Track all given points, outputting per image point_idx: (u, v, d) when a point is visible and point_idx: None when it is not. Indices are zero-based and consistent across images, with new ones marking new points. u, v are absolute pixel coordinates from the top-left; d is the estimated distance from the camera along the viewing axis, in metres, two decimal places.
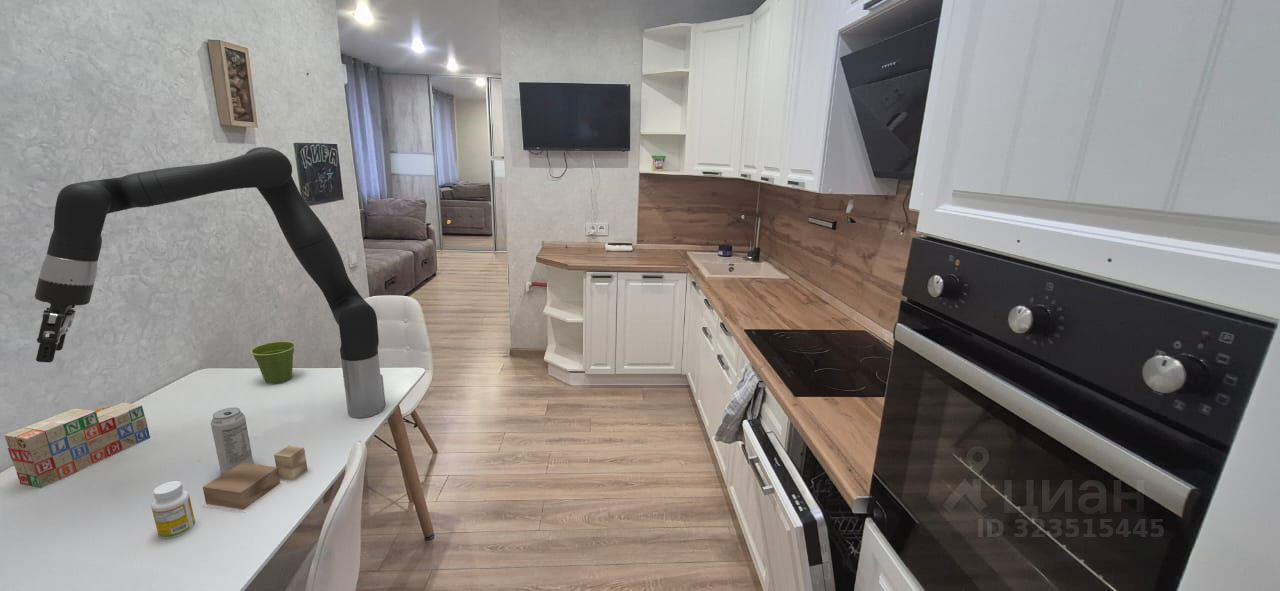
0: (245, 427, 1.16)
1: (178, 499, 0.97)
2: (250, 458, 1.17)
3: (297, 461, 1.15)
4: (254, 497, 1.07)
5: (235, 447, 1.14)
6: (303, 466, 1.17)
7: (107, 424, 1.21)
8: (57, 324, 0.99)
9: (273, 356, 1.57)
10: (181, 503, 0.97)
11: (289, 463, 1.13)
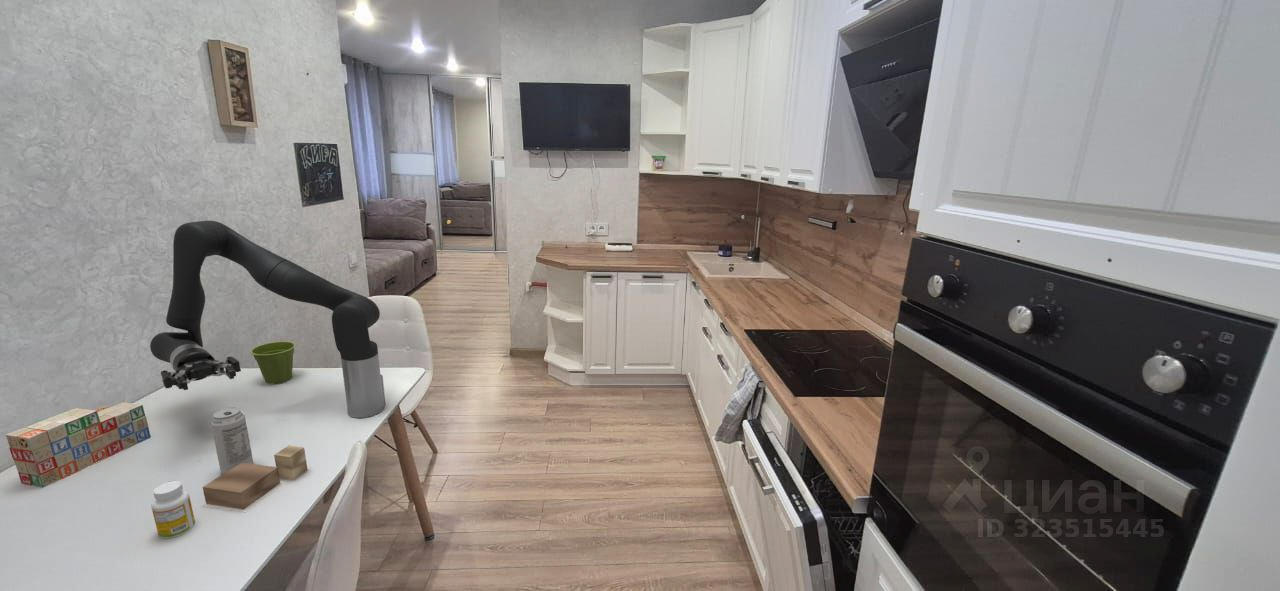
0: (245, 427, 1.16)
1: (178, 499, 0.97)
2: (250, 458, 1.17)
3: (297, 461, 1.15)
4: (254, 497, 1.07)
5: (235, 447, 1.14)
6: (303, 466, 1.17)
7: (108, 423, 1.21)
8: (161, 375, 1.19)
9: (273, 356, 1.57)
10: (181, 503, 0.97)
11: (289, 463, 1.13)
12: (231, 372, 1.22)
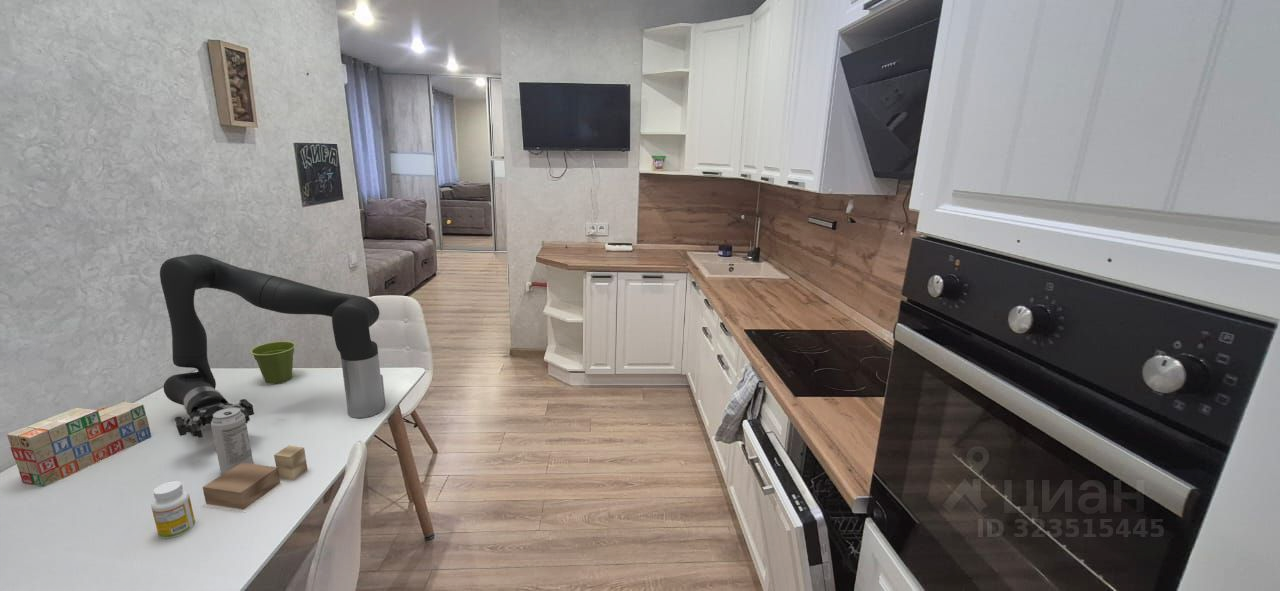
0: (245, 427, 1.16)
1: (178, 499, 0.97)
2: (250, 458, 1.17)
3: (297, 461, 1.15)
4: (254, 497, 1.07)
5: (235, 447, 1.14)
6: (303, 466, 1.17)
7: (109, 423, 1.21)
8: None
9: (273, 356, 1.57)
10: (181, 503, 0.97)
11: (289, 463, 1.13)
12: (245, 417, 1.22)
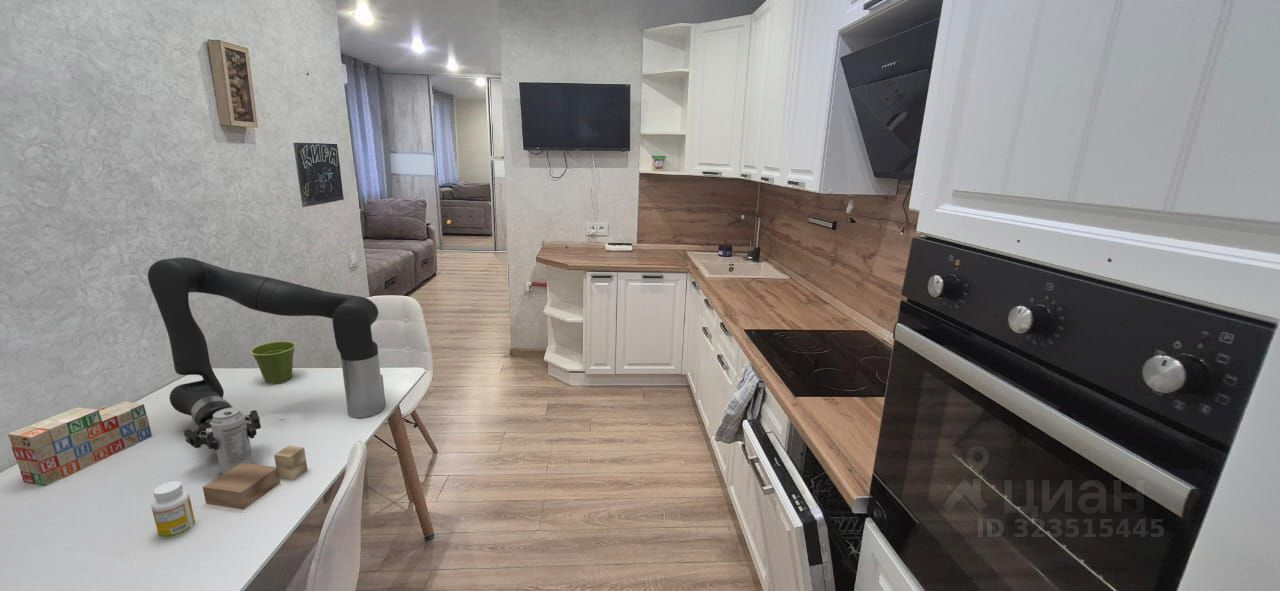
0: (245, 427, 1.16)
1: (178, 499, 0.97)
2: (250, 458, 1.17)
3: (297, 461, 1.15)
4: (254, 497, 1.07)
5: (235, 447, 1.14)
6: (303, 466, 1.17)
7: (110, 422, 1.21)
8: (186, 435, 1.14)
9: (273, 356, 1.57)
10: (181, 503, 0.97)
11: (289, 463, 1.13)
12: (252, 431, 1.16)
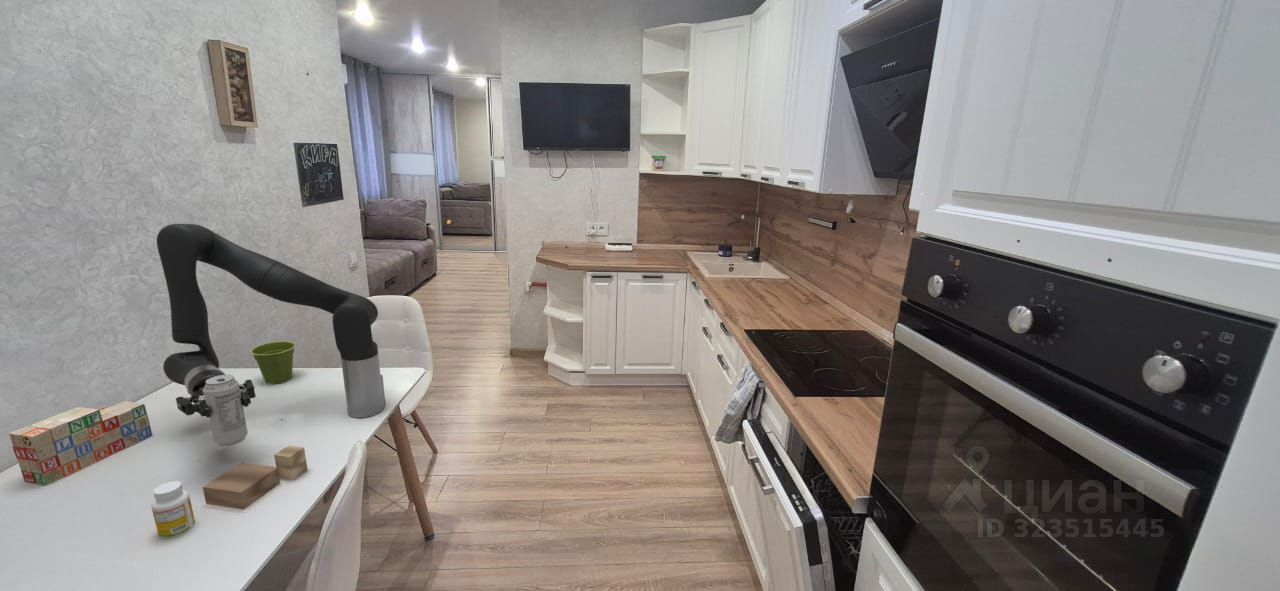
0: (239, 395, 1.12)
1: (178, 499, 0.97)
2: (244, 427, 1.14)
3: (297, 461, 1.15)
4: (254, 497, 1.07)
5: (228, 415, 1.10)
6: (303, 466, 1.17)
7: (111, 422, 1.21)
8: (178, 402, 1.10)
9: (273, 356, 1.57)
10: (181, 503, 0.97)
11: (289, 463, 1.13)
12: (245, 399, 1.13)
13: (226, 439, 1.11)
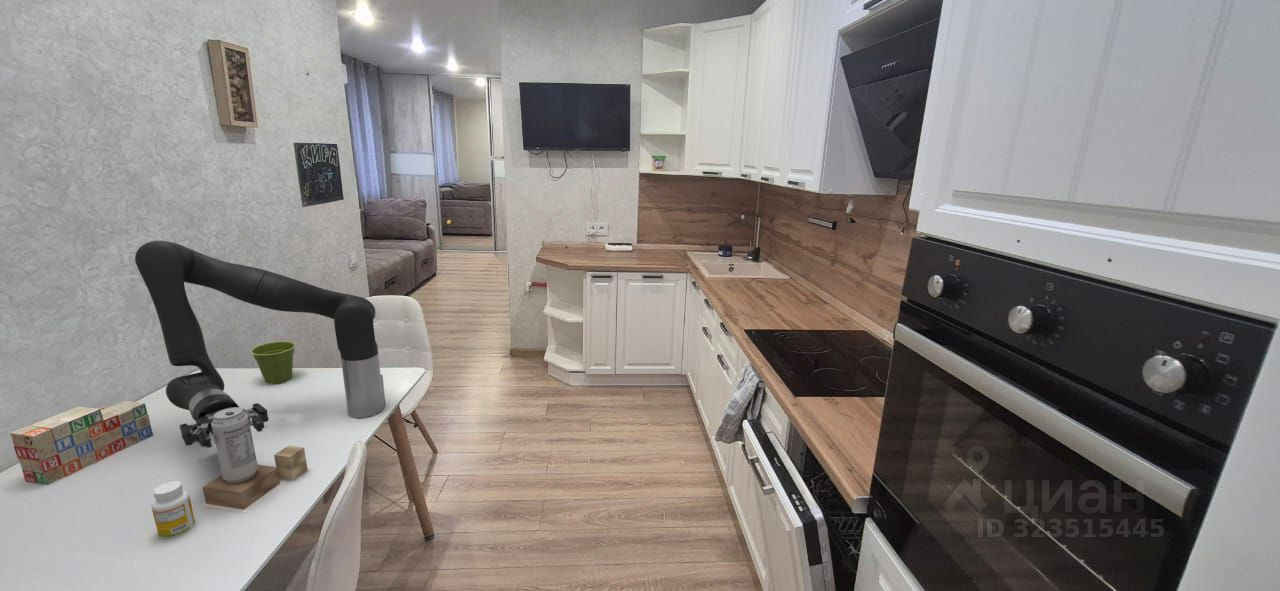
0: (248, 428, 1.07)
1: (178, 499, 0.97)
2: (254, 462, 1.08)
3: (297, 461, 1.15)
4: (254, 497, 1.07)
5: (237, 450, 1.05)
6: (303, 466, 1.17)
7: (111, 421, 1.22)
8: (181, 429, 1.04)
9: (273, 356, 1.57)
10: (181, 503, 0.97)
11: (289, 463, 1.13)
12: (259, 424, 1.08)
13: (236, 475, 1.06)
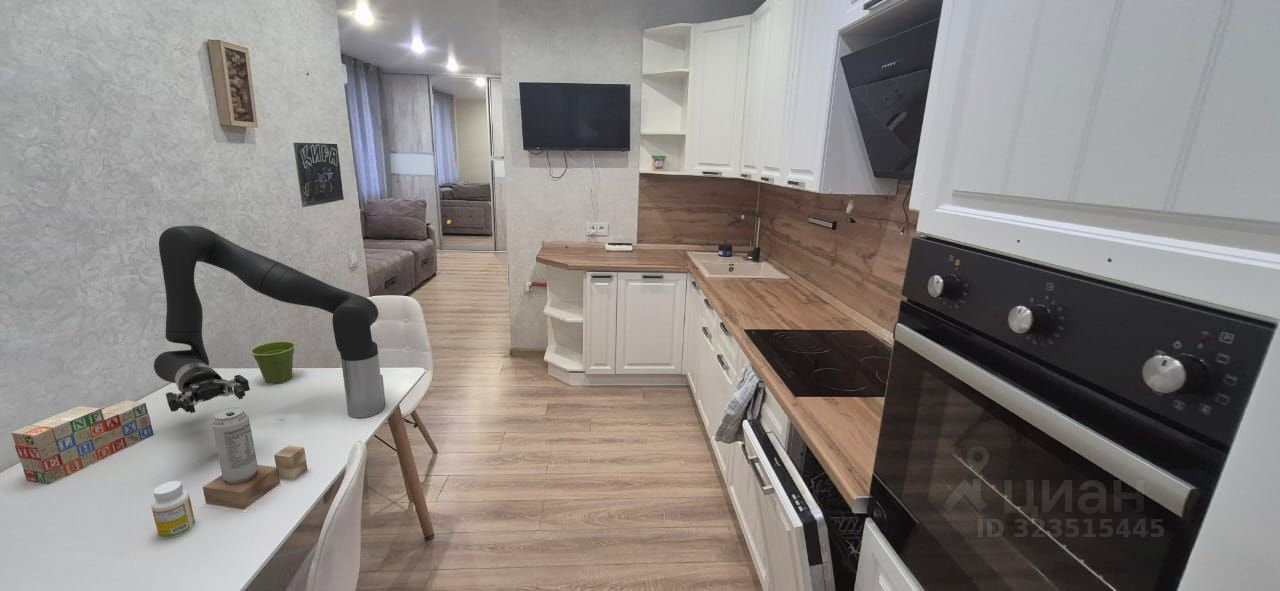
0: (249, 429, 1.07)
1: (178, 499, 0.97)
2: (254, 462, 1.08)
3: (297, 461, 1.15)
4: (254, 497, 1.07)
5: (238, 451, 1.05)
6: (303, 466, 1.17)
7: (112, 421, 1.22)
8: (166, 397, 1.12)
9: (273, 356, 1.57)
10: (181, 503, 0.97)
11: (289, 463, 1.13)
12: (240, 392, 1.16)
13: (236, 476, 1.06)
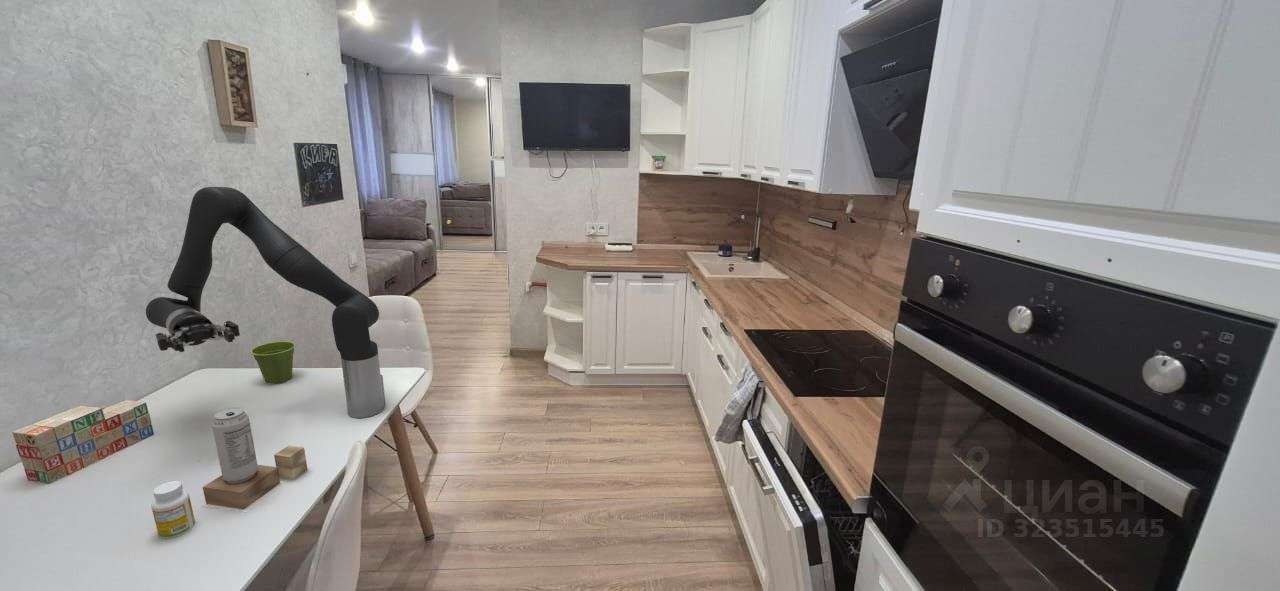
0: (249, 429, 1.07)
1: (178, 499, 0.97)
2: (254, 462, 1.08)
3: (297, 461, 1.15)
4: (254, 497, 1.07)
5: (238, 451, 1.05)
6: (303, 466, 1.17)
7: (113, 420, 1.22)
8: (156, 337, 1.13)
9: (273, 356, 1.57)
10: (181, 503, 0.97)
11: (289, 463, 1.13)
12: (229, 335, 1.17)
13: (236, 476, 1.06)
